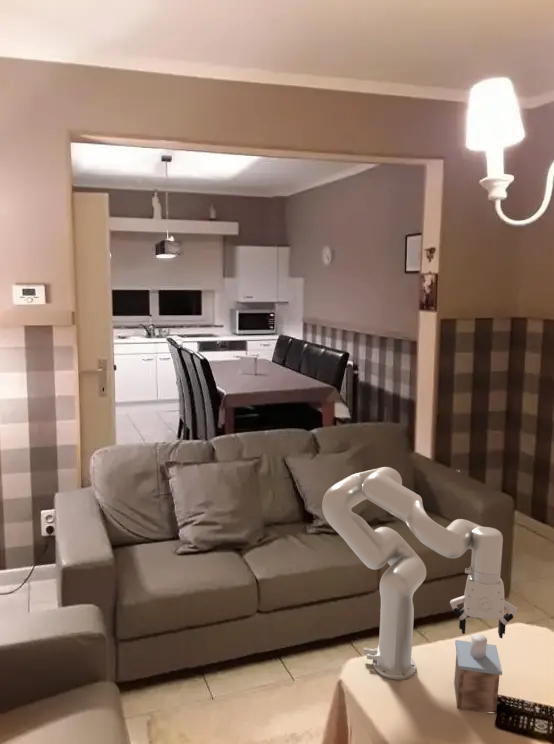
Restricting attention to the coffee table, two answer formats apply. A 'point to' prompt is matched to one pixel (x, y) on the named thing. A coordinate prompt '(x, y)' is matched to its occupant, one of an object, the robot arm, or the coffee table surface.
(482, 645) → the lid
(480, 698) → the walnut box
